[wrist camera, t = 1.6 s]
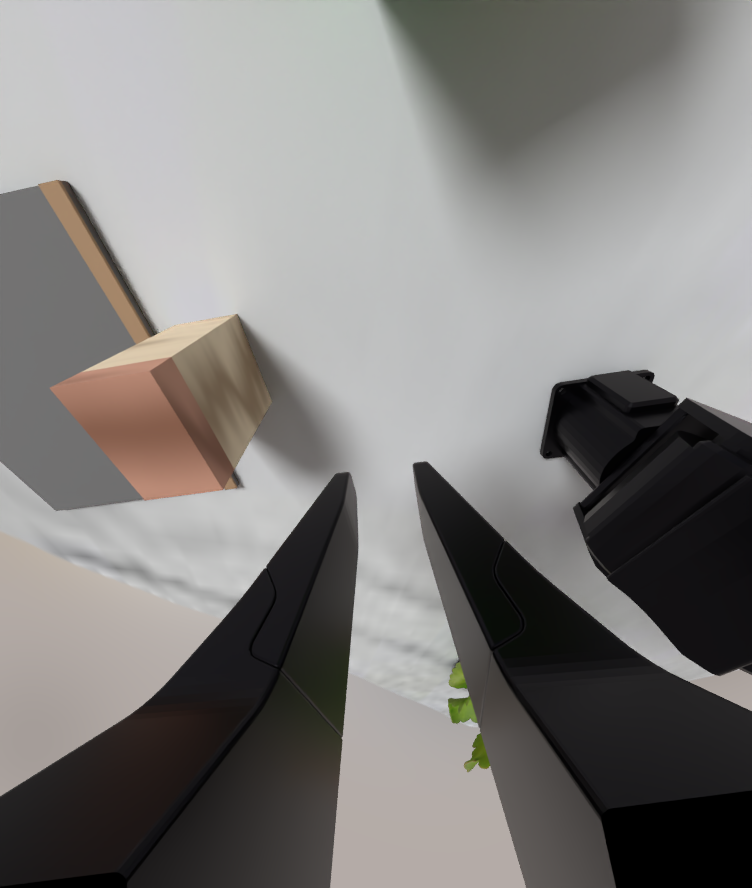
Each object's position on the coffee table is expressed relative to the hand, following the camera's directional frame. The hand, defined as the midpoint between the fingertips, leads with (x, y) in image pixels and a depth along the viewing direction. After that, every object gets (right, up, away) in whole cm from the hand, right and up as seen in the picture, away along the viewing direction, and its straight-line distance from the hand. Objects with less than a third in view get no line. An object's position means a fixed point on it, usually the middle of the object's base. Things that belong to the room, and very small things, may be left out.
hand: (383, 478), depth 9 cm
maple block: (-10, +6, +11) cm, 16 cm away
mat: (-22, +4, +12) cm, 26 cm away
